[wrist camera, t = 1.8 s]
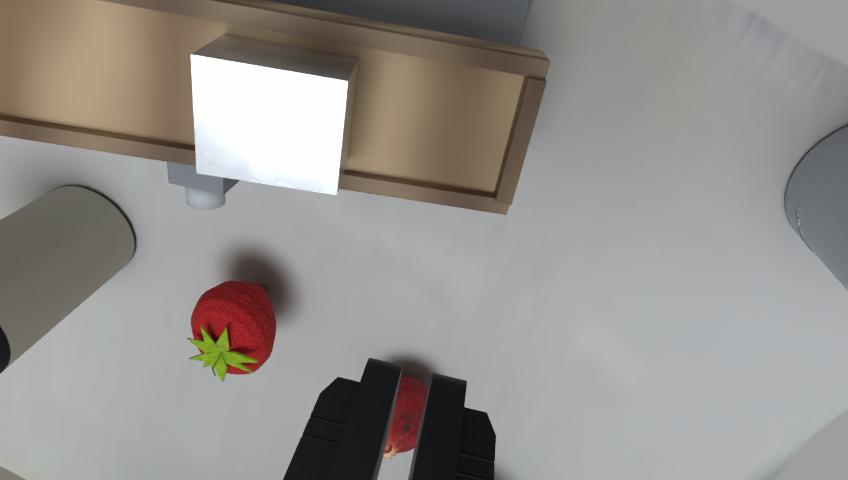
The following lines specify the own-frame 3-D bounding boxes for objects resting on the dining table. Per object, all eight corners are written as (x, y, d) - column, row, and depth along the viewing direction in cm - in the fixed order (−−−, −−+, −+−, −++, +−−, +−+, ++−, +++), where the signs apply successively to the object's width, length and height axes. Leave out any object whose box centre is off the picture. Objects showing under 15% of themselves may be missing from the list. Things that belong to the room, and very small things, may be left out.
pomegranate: (407, 344, 46) (387, 417, 40) (453, 385, 48) (442, 462, 41) (362, 375, 49) (336, 449, 42) (408, 413, 51) (390, 490, 44)
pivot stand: (538, -36, 31) (545, -18, 22) (482, 185, 38) (470, 271, 29) (37, -137, 32) (-161, -162, 23) (75, 95, 40) (-64, 148, 30)
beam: (541, 50, 26) (553, 66, 23) (502, 196, 30) (508, 223, 27) (-184, -81, 23) (-259, -80, 21) (-121, 96, 27) (-178, 116, 25)
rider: (359, 57, 25) (347, 81, 21) (348, 159, 27) (336, 195, 24) (224, 33, 24) (190, 54, 21) (226, 139, 27) (196, 173, 23)
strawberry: (284, 249, 43) (226, 328, 35) (306, 324, 47) (258, 413, 38) (217, 251, 45) (144, 329, 36) (243, 325, 48) (183, 411, 40)
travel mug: (138, 204, 43) (-72, 358, 28) (135, 281, 48) (-50, 452, 32) (42, 170, 43) (-223, 306, 28) (47, 250, 47) (-181, 407, 32)
